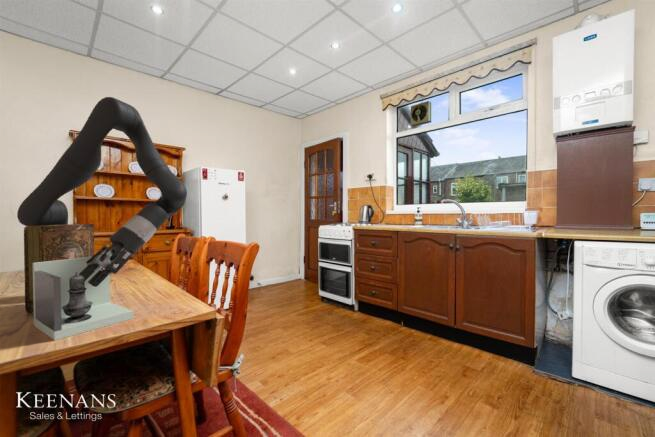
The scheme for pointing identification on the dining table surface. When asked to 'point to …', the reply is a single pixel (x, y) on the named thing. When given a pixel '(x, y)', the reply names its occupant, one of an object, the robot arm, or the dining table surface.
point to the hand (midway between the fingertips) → (85, 282)
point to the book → (54, 249)
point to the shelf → (55, 295)
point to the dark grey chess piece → (77, 301)
